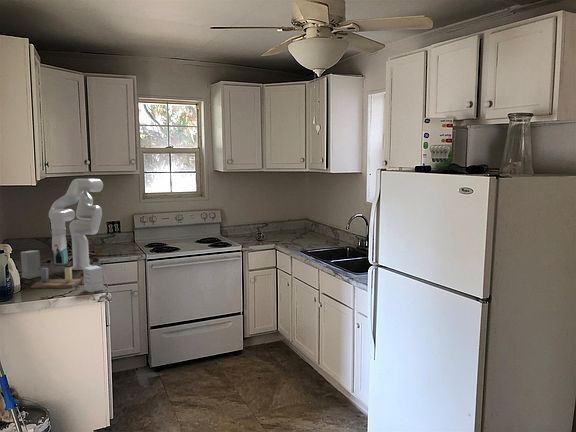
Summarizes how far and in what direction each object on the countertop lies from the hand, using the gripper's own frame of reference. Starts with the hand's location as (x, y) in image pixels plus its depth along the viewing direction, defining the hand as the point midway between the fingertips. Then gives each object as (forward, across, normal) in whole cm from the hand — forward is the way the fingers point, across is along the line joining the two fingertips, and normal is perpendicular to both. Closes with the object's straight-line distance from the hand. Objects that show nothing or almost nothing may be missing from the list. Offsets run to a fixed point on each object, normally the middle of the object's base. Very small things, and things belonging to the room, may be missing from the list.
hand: (61, 261), depth 280 cm
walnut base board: (+9, +15, +3) cm, 18 cm away
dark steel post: (+8, +15, -3) cm, 18 cm away
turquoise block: (+1, 0, 0) cm, 1 cm away
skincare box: (+10, -2, -19) cm, 22 cm away
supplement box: (+9, +27, +28) cm, 40 cm away
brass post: (+8, +15, +10) cm, 20 cm away
